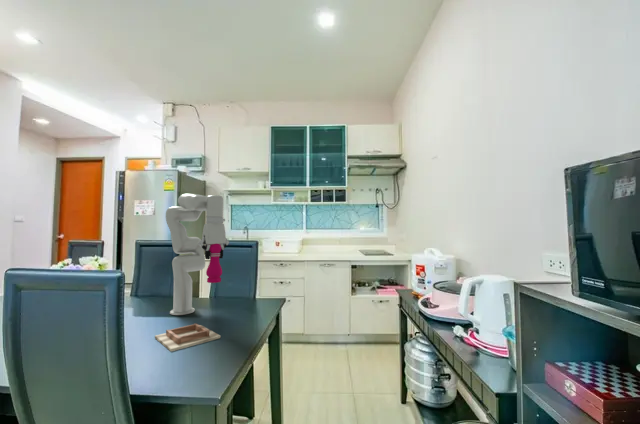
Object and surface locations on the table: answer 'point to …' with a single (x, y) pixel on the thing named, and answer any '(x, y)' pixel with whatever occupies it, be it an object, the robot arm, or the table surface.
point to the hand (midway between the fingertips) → (214, 258)
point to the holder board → (186, 337)
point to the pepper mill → (214, 264)
